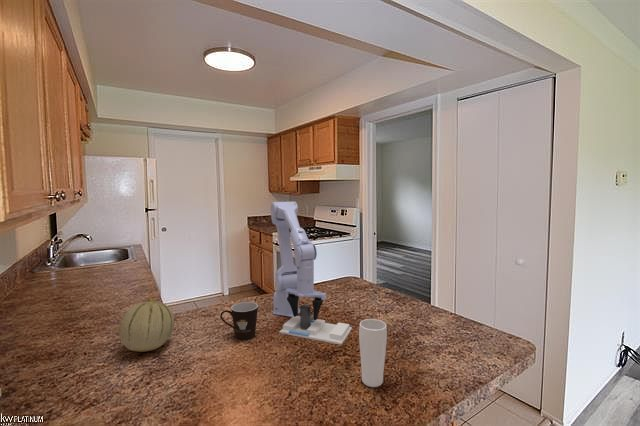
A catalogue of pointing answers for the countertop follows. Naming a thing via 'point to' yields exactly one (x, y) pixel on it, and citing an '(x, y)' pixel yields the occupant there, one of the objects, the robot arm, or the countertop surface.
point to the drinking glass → (372, 351)
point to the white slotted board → (317, 330)
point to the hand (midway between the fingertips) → (305, 317)
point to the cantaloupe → (146, 326)
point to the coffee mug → (243, 320)
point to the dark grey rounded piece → (305, 317)
